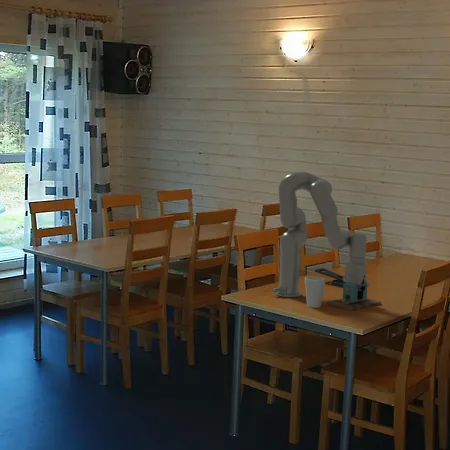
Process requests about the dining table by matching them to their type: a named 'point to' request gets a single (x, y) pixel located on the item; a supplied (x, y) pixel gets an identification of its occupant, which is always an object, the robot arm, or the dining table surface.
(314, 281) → the foam cup
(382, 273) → the dining table surface
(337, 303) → the board
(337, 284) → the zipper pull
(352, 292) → the cabinet
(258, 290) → the dining table surface
